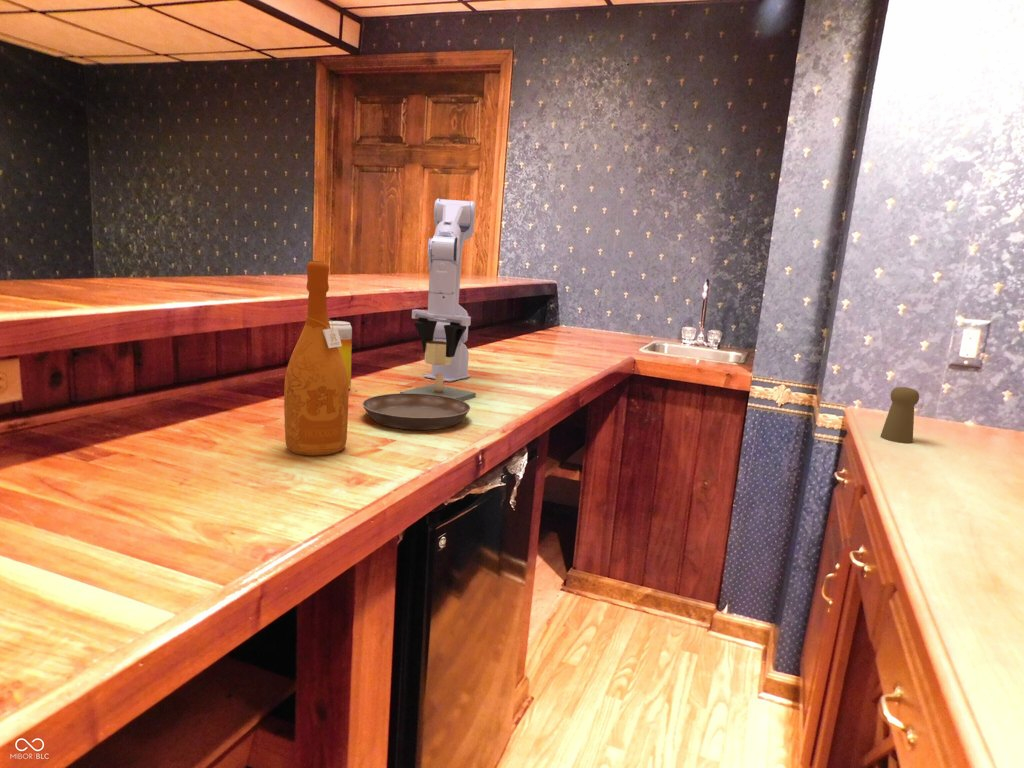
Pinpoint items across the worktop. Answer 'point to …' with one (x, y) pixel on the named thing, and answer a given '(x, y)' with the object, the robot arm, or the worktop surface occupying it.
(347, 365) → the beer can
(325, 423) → the wine bottle
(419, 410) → the plant saucer
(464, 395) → the post plate
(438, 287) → the robot arm
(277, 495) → the worktop surface
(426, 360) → the collar
